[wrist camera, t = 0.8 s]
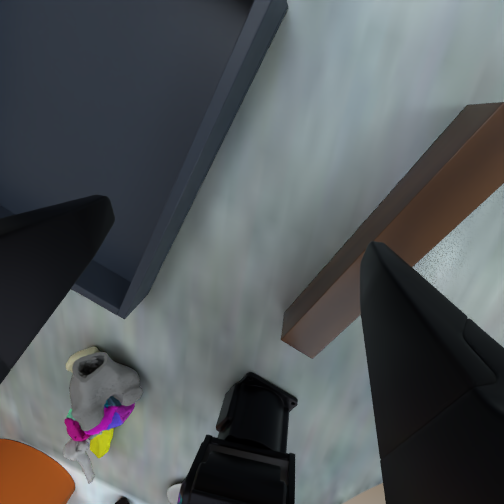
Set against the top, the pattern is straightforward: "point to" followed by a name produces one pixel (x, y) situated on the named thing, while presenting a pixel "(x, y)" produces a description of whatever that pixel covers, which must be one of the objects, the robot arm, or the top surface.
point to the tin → (123, 116)
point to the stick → (405, 222)
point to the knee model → (97, 404)
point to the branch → (122, 501)
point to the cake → (31, 476)
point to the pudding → (174, 494)
